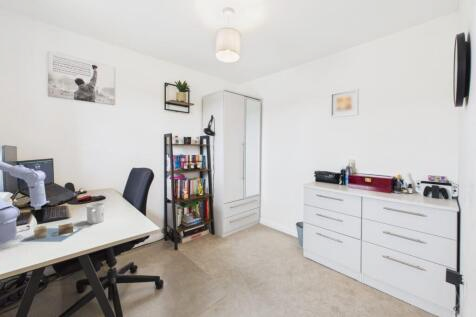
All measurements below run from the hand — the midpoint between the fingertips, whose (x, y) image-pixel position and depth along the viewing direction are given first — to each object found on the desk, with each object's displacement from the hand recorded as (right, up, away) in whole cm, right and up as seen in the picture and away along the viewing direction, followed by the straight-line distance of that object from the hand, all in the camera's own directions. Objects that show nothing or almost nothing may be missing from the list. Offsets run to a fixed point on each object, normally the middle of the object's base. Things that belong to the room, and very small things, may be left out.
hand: (40, 219), depth 106 cm
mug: (+13, -9, +21) cm, 27 cm away
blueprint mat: (+3, -9, +4) cm, 11 cm away
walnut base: (+7, -9, +7) cm, 13 cm away
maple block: (-1, -9, +1) cm, 9 cm away
